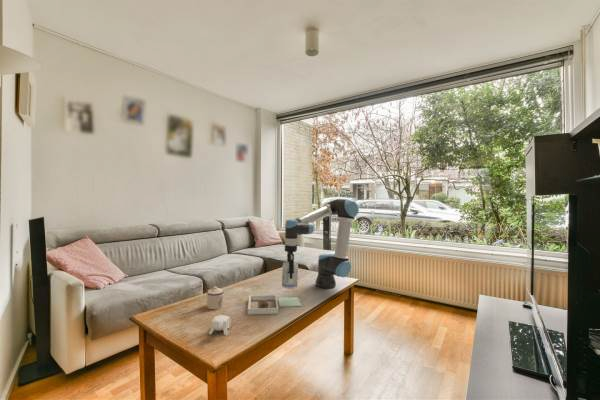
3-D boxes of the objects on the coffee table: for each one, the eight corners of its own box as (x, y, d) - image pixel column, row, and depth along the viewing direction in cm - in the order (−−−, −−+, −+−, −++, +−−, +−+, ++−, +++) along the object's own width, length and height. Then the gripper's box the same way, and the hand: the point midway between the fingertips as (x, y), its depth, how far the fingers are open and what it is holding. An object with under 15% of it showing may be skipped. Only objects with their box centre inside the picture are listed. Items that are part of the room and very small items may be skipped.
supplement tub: (280, 284, 172) (280, 261, 171) (294, 283, 175) (295, 260, 175) (284, 290, 163) (285, 265, 162) (299, 288, 166) (300, 264, 166)
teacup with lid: (222, 309, 156) (222, 289, 156) (205, 310, 155) (205, 289, 154) (224, 301, 168) (224, 282, 168) (208, 301, 166) (209, 282, 166)
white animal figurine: (214, 332, 136) (204, 336, 122) (216, 314, 139) (207, 315, 125) (231, 333, 136) (223, 336, 122) (233, 314, 139) (225, 316, 125)
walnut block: (266, 308, 159) (266, 300, 159) (268, 312, 154) (268, 303, 154) (258, 309, 158) (258, 300, 158) (259, 313, 153) (259, 304, 153)
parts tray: (276, 299, 173) (276, 294, 173) (278, 313, 153) (278, 308, 153) (249, 299, 171) (249, 295, 171) (247, 314, 150) (247, 309, 150)
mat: (298, 298, 176) (298, 297, 176) (301, 306, 163) (301, 305, 163) (278, 298, 175) (278, 297, 175) (279, 307, 162) (279, 306, 162)
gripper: (283, 241, 179) (282, 275, 179) (286, 248, 157) (285, 287, 157) (294, 241, 180) (293, 275, 180) (299, 248, 158) (298, 286, 158)
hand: (289, 280), depth 169 cm, fingers closed on supplement tub, 10 cm apart
